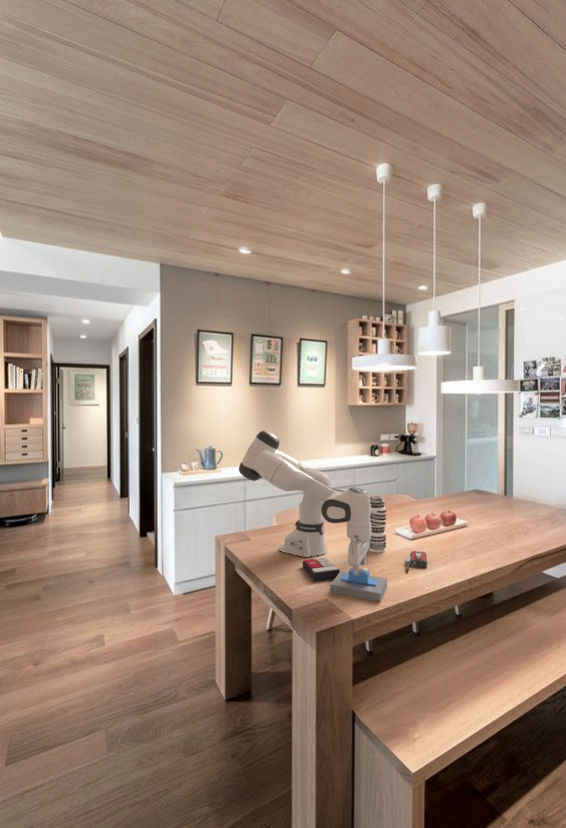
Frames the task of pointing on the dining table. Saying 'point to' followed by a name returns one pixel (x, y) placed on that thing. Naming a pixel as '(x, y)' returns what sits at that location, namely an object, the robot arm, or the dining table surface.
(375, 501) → the white patterned cylinder
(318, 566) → the calculator
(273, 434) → the robot arm
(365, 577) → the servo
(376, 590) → the chassis deck
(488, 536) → the dining table surface
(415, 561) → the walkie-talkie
